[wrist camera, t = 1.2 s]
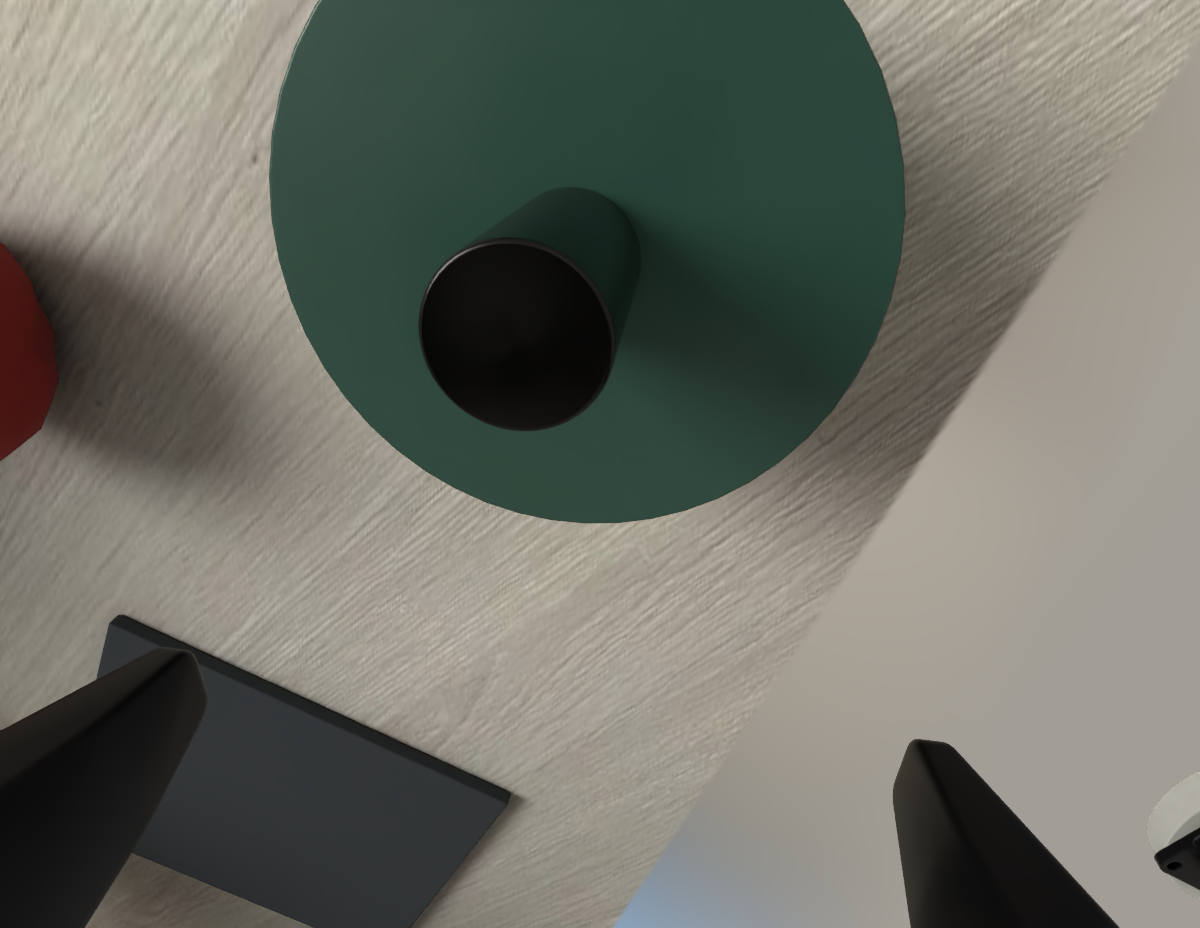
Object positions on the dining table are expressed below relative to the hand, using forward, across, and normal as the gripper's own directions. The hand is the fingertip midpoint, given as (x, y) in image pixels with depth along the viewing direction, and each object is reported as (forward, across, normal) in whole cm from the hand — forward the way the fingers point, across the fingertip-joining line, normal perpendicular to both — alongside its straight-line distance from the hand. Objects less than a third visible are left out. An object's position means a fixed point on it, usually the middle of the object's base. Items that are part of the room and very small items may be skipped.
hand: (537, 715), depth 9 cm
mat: (+14, +16, +24) cm, 32 cm away
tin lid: (+7, +1, -4) cm, 8 cm away
